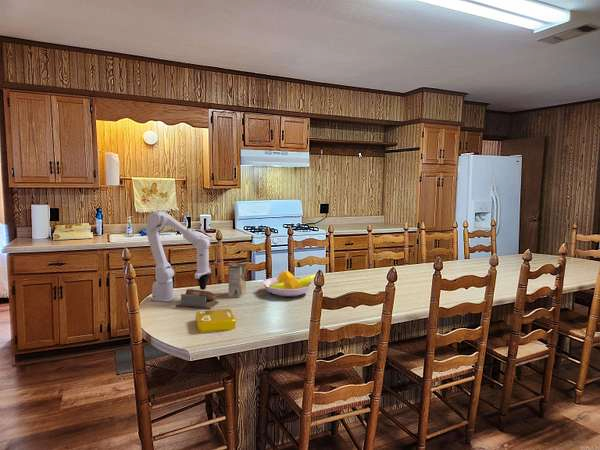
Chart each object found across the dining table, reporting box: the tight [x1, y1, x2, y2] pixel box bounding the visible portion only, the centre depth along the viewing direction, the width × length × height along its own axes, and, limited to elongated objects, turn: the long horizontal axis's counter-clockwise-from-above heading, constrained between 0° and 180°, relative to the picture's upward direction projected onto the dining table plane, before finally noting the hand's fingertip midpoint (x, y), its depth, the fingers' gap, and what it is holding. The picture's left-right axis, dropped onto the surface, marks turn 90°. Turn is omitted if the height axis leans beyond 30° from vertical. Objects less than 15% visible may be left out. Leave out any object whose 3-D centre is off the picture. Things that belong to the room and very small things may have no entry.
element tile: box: [195, 308, 236, 333], centre depth 166 cm, size 15×15×5 cm
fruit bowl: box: [262, 270, 317, 297], centre depth 213 cm, size 28×27×11 cm
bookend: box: [180, 293, 206, 310], centre depth 187 cm, size 12×1×6 cm, turn 80°
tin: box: [185, 288, 216, 301], centre depth 195 cm, size 15×3×8 cm
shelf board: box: [175, 300, 219, 311], centre depth 191 cm, size 17×10×1 cm, turn 80°
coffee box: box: [228, 262, 247, 299], centre depth 208 cm, size 9×6×16 cm
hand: (202, 289), depth 197 cm, fingers closed
